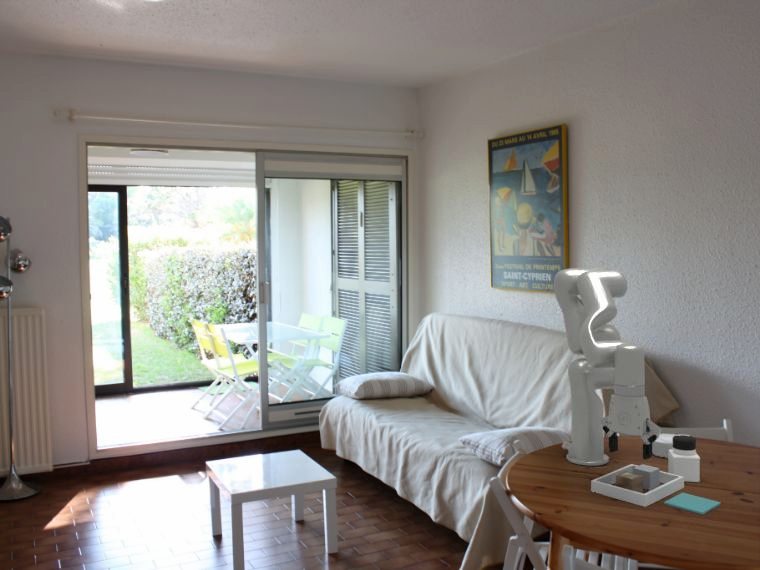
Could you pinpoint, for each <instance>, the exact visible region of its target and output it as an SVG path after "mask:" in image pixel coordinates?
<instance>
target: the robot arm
mask: <svg viewBox="0 0 760 570" xmlns="http://www.w3.org/2000/svg"><path fill="white" fill-rule="evenodd" d="M628 286H629V285H628V279H627V278H626V276H625V274H624V273H623V271H621V270H619V269H614V268H609V267H572V268H571V267H570V268H565V269H561V270H559V271H558V272H557V273H555V276H554V279H553V290H554V296H555V298H556V299H555V300H556V301H557V303H558V306H559V308H560V310H561V313H562V316H563V321H564V327H565V333H566V339H567V344H568V348H569V350H570V352H571V353H572V354H573V355H576V356H584V357H582V358H576V359H574V360H572V361H571V362H570V363H569V366H568V369H567V373H568V374H567V376H568V381H569V382H568V383H569V386H570V396H571V397H570V398H571V399H570V400H571V403H570V404H571V408H570V409H571V442H570V441H566V440H564V441H563V442H562V445H561V448H562V449H564V450H567V451H568V452H567V454H566V460H567V461H568V462H569V463H572V464H574V465H575V464H576V465H581V466H587V467H588V466H589V467H592V466H593V467H594V466H596V467H597V466H603V465H606V464H608V463H609V462H610V457H609V455H608V454H605V453H604V449H605V448H604V447H605V446H604V445H605V443H604V436H605V435H604V432H605V434H606V437H608V448H609V453H614V452H617V451H618V450H619V440H618V439H619V437H618V435H617V434H620V435H627V436H632V437H640V438H641V439H642V441H643V444H642V459H643V460H649V459H651V458H652V456H653V453H652V443H654V441H655V440H657V439H658V438H659V435H660V434H662V431H663V429H662V427H660V426H659V425H657V423H655V422H653V421H652V420H651V411H650V406H649V400H648V397H647V396H645V392H646V390H645V384H646V383H645V381H646V379H645V378H646V377H645V348H644V346H642V345H640V344H637V343H636V342H634V341H632V340H627V339H622V338H621V337H622V336H621V334H620V332H619V330H618V329H617V327H616V326H615V325H613V324H609V323H611V322H612V321H613V320H614V319H615V318H616V316H617V315H618V307H617V305H616V303H615V300H614V299H616V298H623V297H624V296H625V295H626V294H627V292H628ZM606 389H607V390H608V389H609V390H610V389H611V390H613V392H614V393H613V394H611V397H610V401H609V405H608V407H609V408H608V415H607V416H604V413H605V412H604V403H603V400H602V398H601V397H600V396H599V394H597V392H596V390H606ZM651 430H652V431H653V433H652V434H651ZM651 435H652V436H651Z"/></svg>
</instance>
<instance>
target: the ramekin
mask: <svg viewBox="0 0 760 570" xmlns="http://www.w3.org/2000/svg"><path fill="white" fill-rule="evenodd" d="M652 435H653V434H651V436H652ZM676 435H677V434H674V433H660V435H659V438H658V439H657V440H655V441H654V443H652V455H653V456H655V457H658V456H659V458H662V457H665V458H664V459H668V451H669V449H671V450H673V437H674V436H676Z"/></svg>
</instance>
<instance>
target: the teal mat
mask: <svg viewBox="0 0 760 570" xmlns="http://www.w3.org/2000/svg"><path fill="white" fill-rule="evenodd" d="M663 504H664V505H666V506H669V507H673V508H677V509H679V510H685V511H688V512H691V513H695V514H699V515H703V516H704V515H705V514H706V513H708V512H710V511H712V510H713V509H715V508H717V507H719V506H721V505H722V504H721V502H720V501H717V500H712V499H709V498H705V497H702V496H697V495H693V494H689V493H686V492H681V493H679V494H677V495H675V496H674V497H671V498H670V499H667V500H665V501H663Z"/></svg>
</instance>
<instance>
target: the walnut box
mask: <svg viewBox="0 0 760 570" xmlns="http://www.w3.org/2000/svg"><path fill="white" fill-rule="evenodd" d="M615 486H617V487H621V488H624V489H628V490H632V491H635V492H639V493H643V494H644V491H643V490H644V488H643V476H642V475H638V474H634V473H630V472H626V471H625V472H623V473H621V474H618V475H616V483H615Z"/></svg>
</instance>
